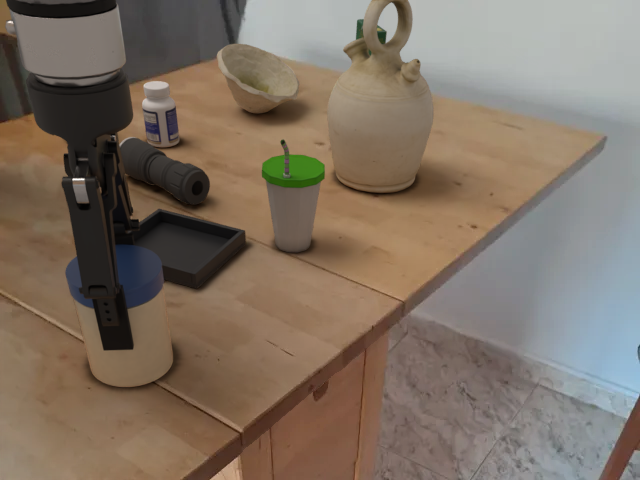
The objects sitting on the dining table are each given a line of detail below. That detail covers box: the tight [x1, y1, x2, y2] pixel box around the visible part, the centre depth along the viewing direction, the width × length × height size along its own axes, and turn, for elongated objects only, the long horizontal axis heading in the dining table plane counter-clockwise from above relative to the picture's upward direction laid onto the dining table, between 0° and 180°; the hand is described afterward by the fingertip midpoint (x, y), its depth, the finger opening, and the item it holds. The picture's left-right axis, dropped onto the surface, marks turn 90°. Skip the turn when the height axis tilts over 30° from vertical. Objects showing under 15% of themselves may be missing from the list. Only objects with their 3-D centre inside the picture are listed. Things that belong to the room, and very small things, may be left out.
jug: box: [326, 0, 434, 194], centre depth 98 cm, size 15×16×25 cm
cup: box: [261, 139, 326, 253], centre depth 85 cm, size 8×8×15 cm
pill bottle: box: [141, 80, 180, 148], centre depth 111 cm, size 5×5×9 cm
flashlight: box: [119, 136, 211, 205], centre depth 99 cm, size 15×5×5 cm, turn 49°
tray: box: [128, 208, 247, 290], centre depth 87 cm, size 13×12×2 cm
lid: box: [64, 244, 165, 308], centre depth 64 cm, size 9×9×2 cm
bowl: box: [216, 43, 300, 114], centre depth 123 cm, size 15×14×10 cm
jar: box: [72, 286, 174, 388], centre depth 67 cm, size 8×8×10 cm
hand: (124, 319), depth 67 cm, fingers closed on lid, 9 cm apart
